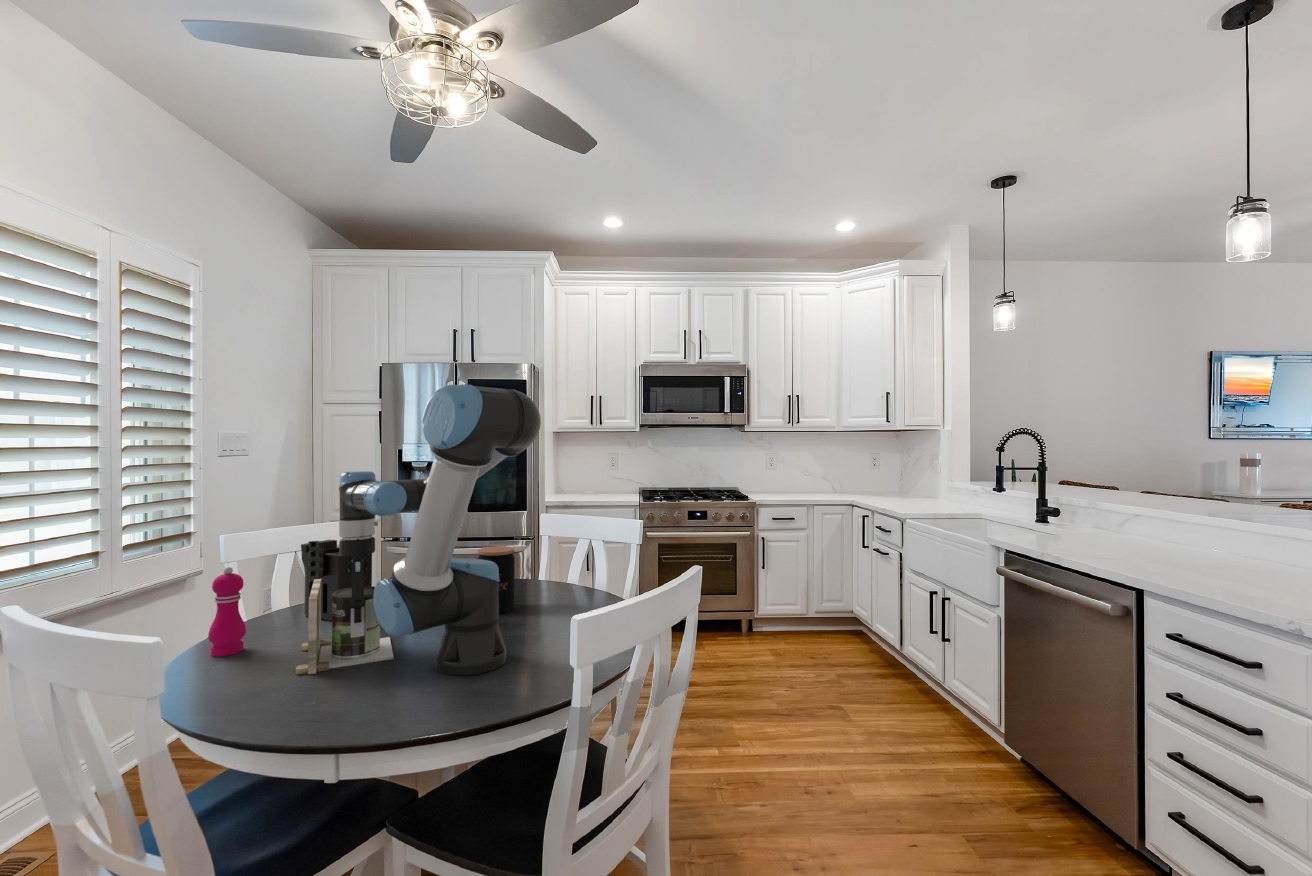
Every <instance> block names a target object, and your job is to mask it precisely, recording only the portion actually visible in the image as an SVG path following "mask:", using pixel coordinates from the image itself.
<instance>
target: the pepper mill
mask: <svg viewBox="0 0 1312 876" xmlns="http://www.w3.org/2000/svg"><path fill="white" fill-rule="evenodd" d="M233 571H234V570H233V568H232V567H231V566H227V567H225V568H224V569H223V574H220V575H217V577H216V578H214V579H213V582H212V585H211V589H212V592H213V593H215V595H214V603H216V614H215V617H214V619H213V621H212V624H211V625H210V627H209V630H208V634H207V638H208V641H209V642H211V644H213V645H212V646H210V656H212V657H218V658H219V657H220V658H221V657H227V656H228V657H229V656H233V655H235V654H239V653H241V652H242V651H244V641H243V640H242V639H243V638H244V637H245V636H246V634H247V625H246V623H245V622H244V619H243V618H242V616H241V614H240V609H239V600H241V599H242V597H241V595H242V593H241V592H240V591H241V590H243V589H242V588H244V579H243V577H242V576H241V575H240V574H237V573H233Z"/></svg>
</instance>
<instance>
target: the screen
mask: <svg viewBox="0 0 1312 876" xmlns="http://www.w3.org/2000/svg"><path fill="white" fill-rule="evenodd" d="M321 622H322V619H321V579H316V580H314V582H313V585H312V589H311V593H310V596H309V617H308V627H307V628H308V630H307V631H308V637H307V640H308V641H307V642H302V643H301V652H305V651H306V652H307V653H308V654H307V663H306V664H305V663H304V664H299V665H296V667H295V675H296V676H298V675H305V674H307V675H311V674H312V675H313V674H317V672H324V671H329V669H328V665H329V661H324V662H319V657H320V650H321V646H327V645H332V638H330V639H329V638H328V639H321V629H322V628H321V627H322V625H321V624H322V623H321Z"/></svg>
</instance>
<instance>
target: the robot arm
mask: <svg viewBox="0 0 1312 876" xmlns="http://www.w3.org/2000/svg"><path fill="white" fill-rule="evenodd" d="M541 421H542V420H541V414H540V410H539V408H538V406H537V405H536V403H535V402H534V401H533V399H532V398H531V397H529V396H528V395H527V394H525V393H524V392H521V391H520V390H516V389H511V388H499V387H498V388H497V387H488V386H486V387H485V386H477V385H472V384H449V385H448V384H447V385H444V386H442V387H441V388H439V389H437V390H436V391H435V392H434V393H432V395H431V396H430V398H429V399H428V401H427V402H426V404H425V408H424V411H423V415H422V421H421V422H422V424H423V427H422V432H423V436H424V439H425V440H426V442H427V443H428V450H429V451H430V452H431V454H432V455H433V457H434V458H433V460H432V465H431V467H430V472H429V475H427V476H426V477H425V478H419V479H417V478H416V479H398V480H397V479H396V480H395V479H394V480H393V479H392V480H376V474H375V472H374V471H367V470H366V471H365V470H364V471H359V470H358V471H345V472H343V473H341V474H340V476H339V477H340V478H339V479H340V480H339V487H338V492H339V493H338V494H339V495H338V496H339V519H338V536H339V537H340V538H341V539H340V540H339V541H338V542H339V544H338V545H339V546H338V547H339V554H340V555H342V556H351V558H352V562H348V572H349V581H350V582H352V586H351V587H352V603H351V605H348V609H351V638H352V637H360V636H364V604H365V602H364V580H366V570H367V560H365V561H363V555H369V554H372V555H373V554H374V553H375V552H376V537H374V535H375V534H376V527H377V526H378V525H379V523H378V521H376V516H379V517H384V516H389V517H390V516H393V515H396V514H401V513H410V512H411V513H412V512H418V513H417V516H416V519H415V523H414V526H413V529H412V533H411V537H410V541H409V543H408V547H407V550H406V554H405V556H404V557H403V558H401V559H399V560H398V561H397V562H396V563H395V564H394V567H393V569H392V573H391V575H390V576H391V577H389V578H383V579H381V580H379V581H378V582H377V583H376V584H375V586H374V587H375V589H374V596H373V600H374V608H375V612H376V616H377V619H378V621H379V623H380V628H382V630H384V633H386V634H388V635H389V636H392V637H402V636H407V635H408V636H409V635H413V634H416V633H419V632H422V631H427V630H430V629H433V628H437V627H441V626H444V632H443V634H442V638H441V641H440V644H439V646H438V649H437V652H436V656H435V668H436V670H437V671H438V672H440V673H443V674H446V675H451V676H469V675H470V676H471V675H472V676H473V675H479V674H484V673H487V672H490V671H493V670H496V669H498V668H500V667H501V666H503V665H504V664H505V663H506V662H507V647H506V645H505V641H504V638H503V636H502V633H501V629H500V625H499V621H500V619H499V618H500V617H499V616H500V614H499V582H500V580H499V569H498V566H497V564H496V563H494V562H492V561H488V560H481V559H478V558H466V557H465V558H463V557H462V558H458V557H456V558H452V557H453V554H454V551H455V549H456V548H455V547H456V545H457V543H458V542H457V541H458V539H459V536H460V532H461V529H462V525H463V523H464V519H465V517H466V513H467V510H468V507H469V504H470V501H471V497H472V495H473V491H474V488H475V486H476V485H475V484H476V481H477V480H478V479H479V478H480V477H482V476H483V475H485V474H486V473H487V472H488V471H490V470H491V469H493V468H494V467H495V466H497V465H498V464H499V463H501V462H502V461H503V460H505V459H507V457H508V458H512V457H517V456H519V455H520V454H521V453H523V452H524V451H525V450H526V449H528V448H529V447H531V445H532V444H533V443H534V442H535V440H536V439H537V437H538V436H539V433H540V429H541V424H542V423H541Z"/></svg>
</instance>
